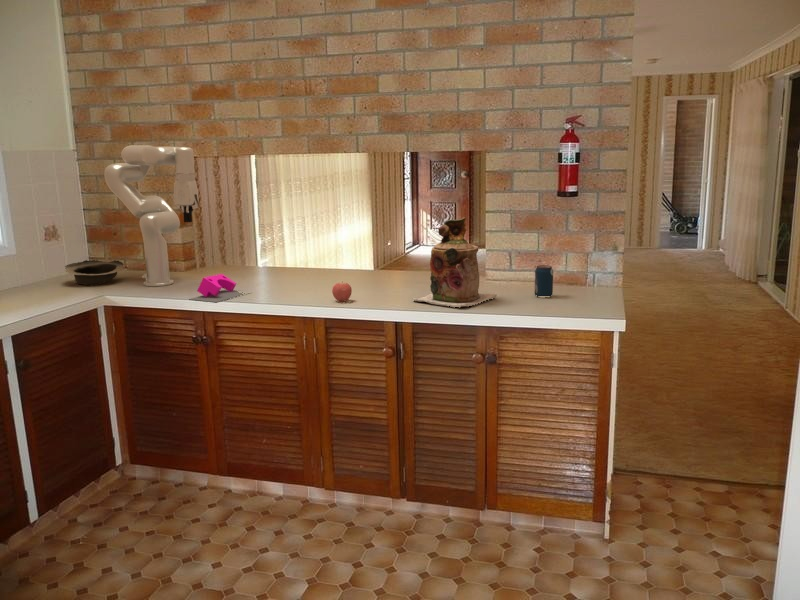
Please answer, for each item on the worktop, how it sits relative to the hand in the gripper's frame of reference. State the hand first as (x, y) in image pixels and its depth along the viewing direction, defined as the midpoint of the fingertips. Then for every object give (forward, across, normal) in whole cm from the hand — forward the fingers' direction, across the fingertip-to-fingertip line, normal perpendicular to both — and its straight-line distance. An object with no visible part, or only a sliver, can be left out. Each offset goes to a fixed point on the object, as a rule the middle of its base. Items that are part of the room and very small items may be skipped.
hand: (188, 222), depth 294 cm
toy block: (+23, +16, -7) cm, 29 cm away
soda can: (+25, +141, +44) cm, 150 cm away
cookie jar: (+26, +112, +23) cm, 118 cm away
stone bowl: (+30, -51, -6) cm, 60 cm away
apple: (+27, +74, +4) cm, 78 cm away
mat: (+28, +23, -8) cm, 37 cm away
